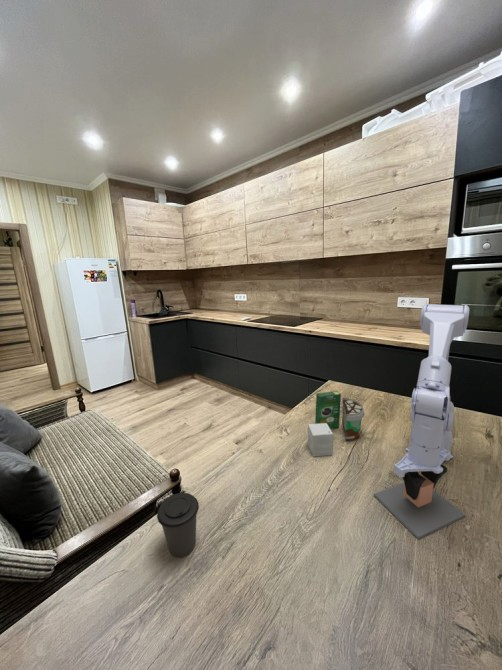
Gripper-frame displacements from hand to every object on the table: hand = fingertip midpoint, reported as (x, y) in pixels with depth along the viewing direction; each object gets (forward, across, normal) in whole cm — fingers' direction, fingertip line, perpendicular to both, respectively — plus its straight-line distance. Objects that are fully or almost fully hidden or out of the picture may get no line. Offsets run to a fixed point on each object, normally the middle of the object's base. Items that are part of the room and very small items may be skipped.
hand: (418, 493), depth 64 cm
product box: (+4, -9, +26) cm, 28 cm away
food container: (+4, +6, +29) cm, 30 cm away
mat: (+3, 0, 0) cm, 3 cm away
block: (+2, 0, 0) cm, 2 cm away
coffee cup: (+4, -52, +11) cm, 53 cm away
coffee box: (+4, 0, +35) cm, 35 cm away
